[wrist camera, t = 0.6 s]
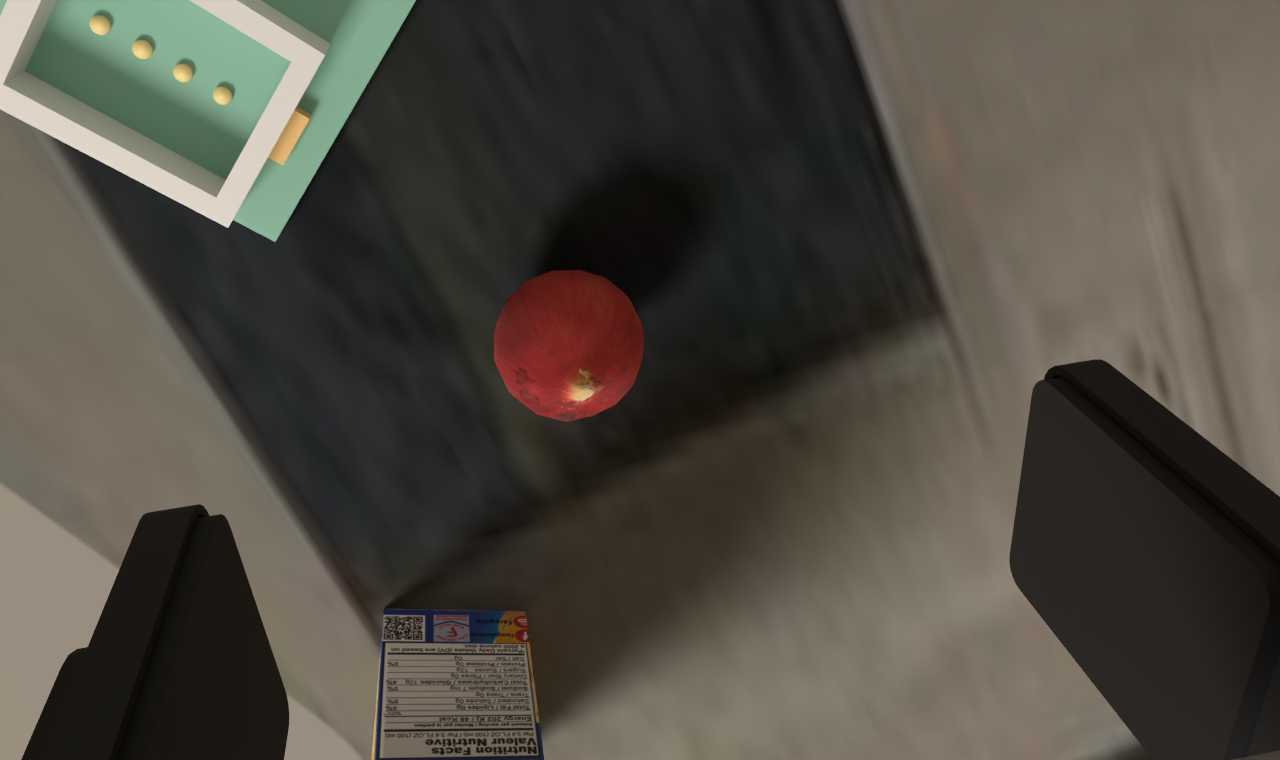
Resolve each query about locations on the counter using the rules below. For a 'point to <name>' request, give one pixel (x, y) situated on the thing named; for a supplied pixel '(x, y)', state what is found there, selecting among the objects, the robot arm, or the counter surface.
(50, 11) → the board
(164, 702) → the robot arm
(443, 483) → the counter surface
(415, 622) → the beverage box
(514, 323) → the onion
